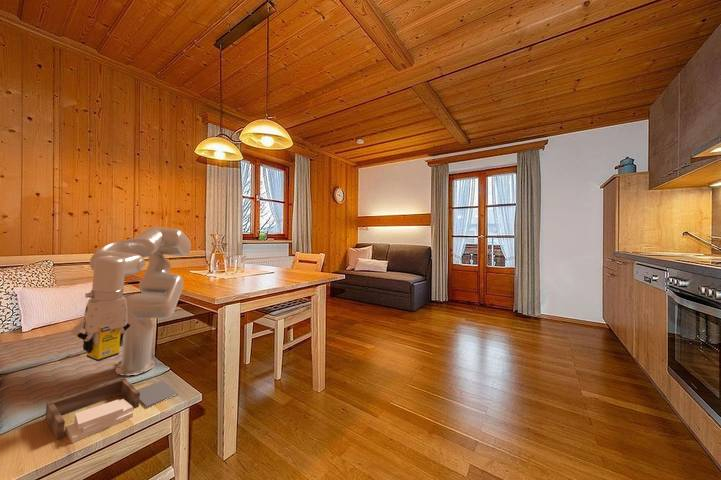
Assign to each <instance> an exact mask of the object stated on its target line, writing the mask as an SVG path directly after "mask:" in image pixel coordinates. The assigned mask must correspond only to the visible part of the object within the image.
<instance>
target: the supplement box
mask: <svg viewBox="0 0 721 480" xmlns="http://www.w3.org/2000/svg"><path fill="white" fill-rule="evenodd" d="M120 333H121V328H118V329H110V328H109V327H108V326H106V327H100V328H99V332H98V333H94V334H93V336H92V337H91V340H92V350H91V353H87V352H86V358H88V359H90V360H93V361H96V362H101V361H104V360H107V359H110V358H112V357H113V358H114V357H116V356H118V355H119V354H120V346H121V345H120Z"/></svg>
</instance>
